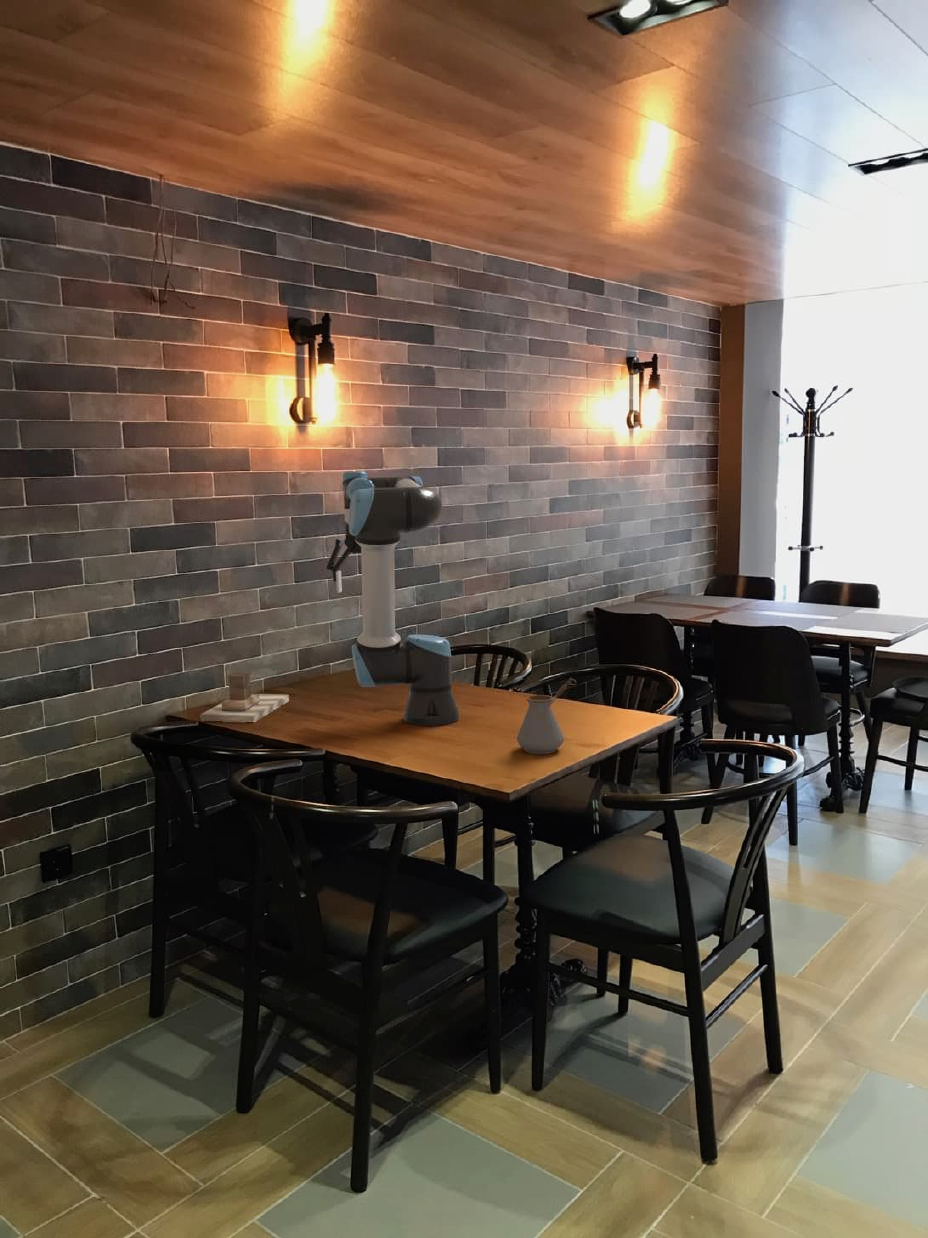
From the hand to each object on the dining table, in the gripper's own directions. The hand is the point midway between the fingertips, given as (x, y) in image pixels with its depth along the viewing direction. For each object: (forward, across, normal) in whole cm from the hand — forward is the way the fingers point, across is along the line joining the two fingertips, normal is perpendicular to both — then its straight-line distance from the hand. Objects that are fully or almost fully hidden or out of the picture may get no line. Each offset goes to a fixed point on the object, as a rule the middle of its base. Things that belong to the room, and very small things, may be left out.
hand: (360, 592), depth 300 cm
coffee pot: (+32, -64, +52) cm, 89 cm away
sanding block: (+30, +29, +28) cm, 50 cm away
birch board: (+32, +28, +25) cm, 49 cm away
